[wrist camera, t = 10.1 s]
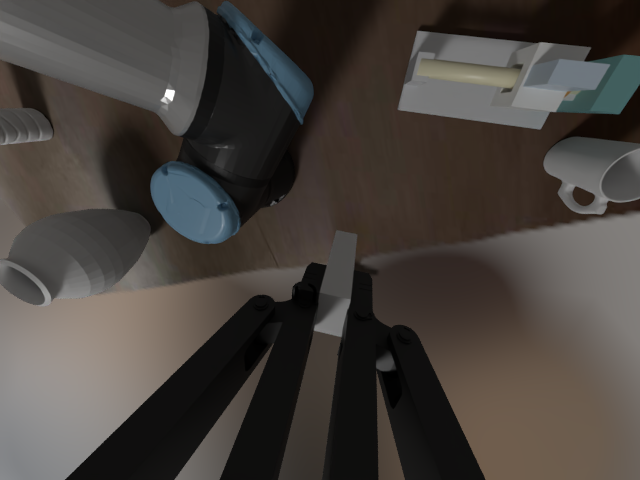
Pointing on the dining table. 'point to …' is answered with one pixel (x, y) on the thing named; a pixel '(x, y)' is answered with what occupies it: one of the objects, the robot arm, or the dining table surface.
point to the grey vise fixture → (497, 81)
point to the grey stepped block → (548, 76)
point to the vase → (73, 254)
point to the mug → (595, 171)
